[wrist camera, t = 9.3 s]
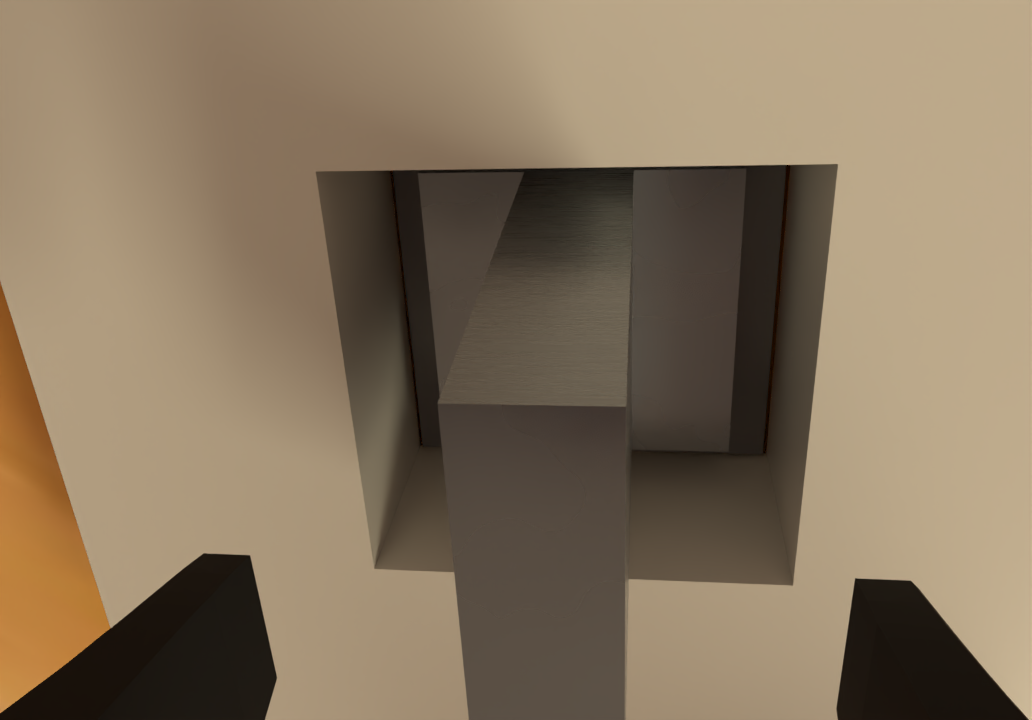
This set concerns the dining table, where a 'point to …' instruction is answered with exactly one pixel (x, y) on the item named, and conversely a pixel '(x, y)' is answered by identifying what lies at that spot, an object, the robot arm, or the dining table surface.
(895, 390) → the well block
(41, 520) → the dining table surface
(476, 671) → the tall grey block
